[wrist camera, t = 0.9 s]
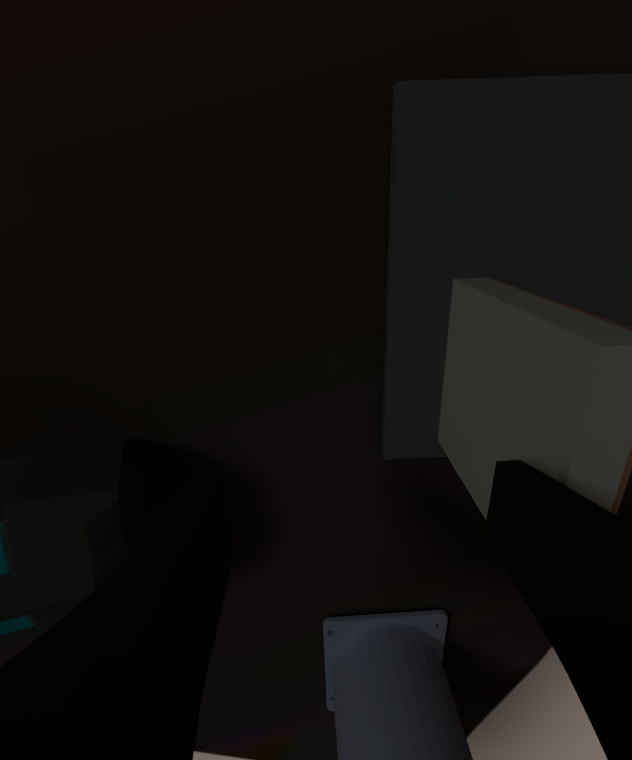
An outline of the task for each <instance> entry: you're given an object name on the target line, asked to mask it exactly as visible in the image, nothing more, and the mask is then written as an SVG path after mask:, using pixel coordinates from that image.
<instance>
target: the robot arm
mask: <svg viewBox="0 0 632 760" xmlns="http://www.w3.org/2000/svg"><path fill="white" fill-rule="evenodd" d="M486 524H487V527H488V529H489V532H490V534H491V537H492V539H493V541H494V544H495V546H496V548H497V551H498V553H499V555H500V557H501V559H502V561H503V563H504V565H505V567H506V568H507V570H508V572H509V574H510V575H511V577H512V579H513V581H514V582H515V584H516V586H517V587H518V589H519V591H520V593H521V594H522V596H523V598H524V599H525V601H526V603H527V604H528V606H529V608H530V609H531V611H532V613H533V615H534V616H535V618H536V620H537V621H538V623H539V625H540V626H541V628H542V630H543V631H544V633H545V635H546V636H547V638H548V640H549V642H550V643H551V645H552V647H553V648H554V650H555V652H556V654H557V655H558V657H559V659H560V661H561V663H562V665H563V666H564V668H565V670H566V672H567V674H568V676H569V678H570V680H571V682H572V684H573V686H574V688H575V690H576V692H577V695H578V697H579V699H580V701H581V703H582V705H583V707H584V709H585V711H586V713H587V715H588V717H589V720H590V721H591V724H592V726H593V728H594V730H595V733H596V735H597V737H598V739H599V741H600V744H601V746H602V748H603V750H604V752H605V755H606V757H607V759H608V760H632V524H631V523H629V522H627V521H626V520H624V519H622V518H620V517H618V516H617V515H615V514H613V513H611V512H609V511H608V510H606V509H604V508H602V507H601V506H599V505H597V504H596V503H594V502H592V501H590V500H589V499H587V498H585V497H584V496H582V495H580V494H579V493H577V492H575V491H573V490H572V489H570V488H568V487H567V486H565V485H563V484H562V483H560V482H558V481H557V480H555V479H553V478H552V477H550V476H548V475H546V474H545V473H543V472H541V471H540V470H538V469H536V468H534V467H532V466H531V465H529V464H527V463H525V462H523V461H521V460H508V461H496V466H495V472H494V478H493V484H492V490H491V496H490V502H489V508H488V514H487V520H486ZM232 547H233V534H232V528H231V521H230V515H229V509H228V503H227V496H226V490H225V484H224V478H207V479H199V480H198V481H197V482H196V483H195V484H194V485H193V487H192V488H191V489H190V490H189V491H188V492H187V494H186V495H185V496H184V497H183V498H182V499H181V501H180V502H179V503H178V504H177V505H176V506H175V508H174V509H173V510H172V511H171V512H170V513H169V515H168V516H167V517H166V518H165V519H164V520H163V521H162V522H161V524H160V525H159V526H158V527H157V528H156V529H155V530H154V531H153V532H152V534H151V535H150V536H149V537H148V538H147V539H146V540H145V541H144V542H143V543H142V544H141V546H140V547H139V548H138V549H137V550H136V551H135V552H134V553H133V554H132V555H131V556H130V557H129V558H128V559H127V560H126V561H125V562H124V563H123V564H122V565H121V566H120V567H119V568H118V569H117V570H116V571H115V572H114V573H113V574H112V575H111V576H110V577H109V578H108V579H107V580H106V581H105V582H103V583H102V584H101V585H100V586H99V587H98V588H97V589H96V590H95V591H94V592H93V593H91V594H90V595H89V596H88V597H87V598H86V599H85V600H83V601H82V602H81V603H80V604H79V605H78V606H77V607H75V608H74V609H73V610H72V611H71V612H70V613H68V614H67V615H66V616H65V617H64V618H62V619H61V620H60V621H59V622H57V623H56V624H55V625H54V626H52V627H51V628H50V629H49V630H47V631H46V632H45V633H43V634H42V635H41V636H40V637H38V638H37V639H36V640H34V641H33V642H32V643H31V644H29V645H28V646H27V647H26V648H24V649H23V650H22V651H20V652H19V653H18V654H17V655H15V656H14V657H13V658H12V659H10V660H9V661H8V662H6V663H5V664H3V665H2V666H1V667H0V760H192V759H193V752H194V746H195V739H196V732H197V725H198V719H199V712H200V705H201V699H202V694H203V689H204V684H205V679H206V674H207V670H208V665H209V661H210V657H211V653H212V648H213V644H214V640H215V636H216V632H217V627H218V623H219V619H220V615H221V610H222V606H223V602H224V597H225V593H226V589H227V584H228V580H229V573H230V565H231V556H232ZM447 622H448V617H447V614H446V612H445V611H443V610H428V611H413V612H399V613H384V614H370V615H355V616H340V617H329V618H326V619H325V620H324V621H323V634H324V656H325V677H326V699H327V708H328V709H329V710H331V711H335V723H336V736H337V750H338V760H473V759H472V756H471V752H470V750H469V746H468V743H467V740H466V737H465V734H464V731H463V727H462V724H461V721H460V718H459V715H458V712H457V709H456V706H455V702H454V699H453V696H452V693H451V690H450V687H449V684H448V681H447V677H446V674H445V671H444V668H443V665H442V658H443V651H444V644H445V636H446V629H447Z"/></svg>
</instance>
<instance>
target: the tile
mask: <svg viewBox="0 0 632 760" xmlns="http://www.w3.org/2000/svg"><path fill="white" fill-rule="evenodd" d="M438 442H439V443H440V445H441V447H442V448H443V450H444V452H445V453H446V455H447V457H448V458H449V460H450V462H451V463H452V465H453V466H454V468H455V470H456V471H457V473H458V475H459V476H460V478H461V480H462V481H463V483H464V485H465V486H466V488H467V489H468V491H469V493H470V494H471V496H472V498H473V499H474V501H475V503H476V504H477V506H478V508H479V509H480V511H481V512H482V514H483V516H484V517H485V519H486V520H487V514H488V508H489V502H490V496H491V490H492V484H493V478H494V472H495V466H496V461H508V460H521V461H523V462H525V463H527V464H529V465H531V466H532V467H534V468H536V469H538V470H540V471H541V472H543V473H545V474H546V475H548V476H550V477H552V478H553V479H555V480H557V481H558V482H560V483H562V484H563V485H565V486H567V487H568V488H570V489H572V490H573V491H575V492H577V493H579V494H580V495H582V496H584V497H585V498H587V499H589V500H590V501H592V502H594V503H596V504H597V505H599V506H601V507H602V508H604V509H606V510H608V511H609V512H611V513H613V514H615V515H617V512H618V509H619V506H620V503H621V500H622V497H623V494H624V491H625V488H626V485H627V482H628V479H629V476H630V473H631V470H632V328H631V327H629V326H626V325H623V324H620V323H617V322H614V321H612V320H609V319H606V318H603V317H600V316H598V315H595V314H592V313H589V312H586V311H584V310H581V309H578V308H575V307H572V306H570V305H567V304H564V303H561V302H558V301H556V300H553V299H550V298H547V297H544V296H541V295H539V294H536V293H533V292H530V291H527V290H525V289H522V288H519V287H516V286H513V285H511V284H508V283H505V282H502V281H499V280H497V279H494V278H491V277H487V278H466V279H453V288H452V298H451V308H450V319H449V329H448V339H447V350H446V360H445V370H444V381H443V391H442V401H441V412H440V422H439V433H438Z"/></svg>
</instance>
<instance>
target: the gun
mask: <svg viewBox="0 0 632 760" xmlns="http://www.w3.org/2000/svg"><path fill="white" fill-rule="evenodd" d="M144 503H145V485H144V476H143V469H142V465H141V463H140V464H134V463H133V457H132V451H131V445H130V441H129V438H121V439H114V440H107V441H100V442H93V443H86V444H79V445H72V446H65V447H57V448H51V449H48V450H45V451H42V452H39V453H37V454H34V455H31V456H27V457H20V458H13V459H6V460H0V648H2V647H5V646H9V645H13V644H16V643H20V642H23V641H27V640H31V639H34V638H38V637H40V636H41V635H42V634H43V633H45V632H46V631H47V630H49V629H50V628H51V627H52V626H54V625H55V624H56V623H57V622H59V621H60V620H61V619H62V618H64V617H65V616H66V615H67V614H68V613H70V612H71V611H72V610H73V609H74V608H75V607H77V606H78V605H79V604H80V603H81V602H82V601H83V600H85V599H86V598H87V597H88V596H89V595H90V594H91V593H93V592H94V591H95V590H96V589H97V588H98V587H99V586H100V585H101V584H102V583H103V582H105V581H106V580H107V579H108V578H109V577H110V576H111V575H112V574H113V573H114V572H115V571H116V570H117V569H118V568H119V567H120V566H121V565H122V564H123V563H124V562H125V561H126V560H127V559H128V558H129V557H130V556H131V555H132V554H133V553H134V552H135V551H136V550H137V549H138V548H139V547H140V514H139V504H144Z"/></svg>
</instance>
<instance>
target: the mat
mask: <svg viewBox="0 0 632 760" xmlns="http://www.w3.org/2000/svg"><path fill="white" fill-rule="evenodd" d="M487 277H491V278H494V279H497V280H499V281H502V282H505V283H508V284H511V285H513V286H516V287H519V288H522V289H525V290H527V291H530V292H533V293H536V294H539V295H541V296H544V297H547V298H550V299H553V300H556V301H558V302H561V303H564V304H567V305H570V306H572V307H575V308H578V309H581V310H584V311H586V312H589V313H592V314H595V315H598V316H600V317H603V318H606V319H609V320H612V321H614V322H617V323H620V324H623V325H626V326H629V327H631V328H632V73H625V74H595V75H565V76H535V77H505V78H476V79H446V80H416V81H397V82H396V83H395V85H394V86H393V115H392V146H391V177H390V208H389V240H388V271H387V302H386V333H385V364H384V396H383V427H382V456H383V459H384V460H396V459H413V458H431V457H447V455H446V453H445V452H444V450H443V448H442V447H441V445H440V443H439V442H438V433H439V422H440V412H441V401H442V391H443V381H444V370H445V360H446V350H447V339H448V329H449V319H450V308H451V298H452V288H453V279H466V278H487Z"/></svg>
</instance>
